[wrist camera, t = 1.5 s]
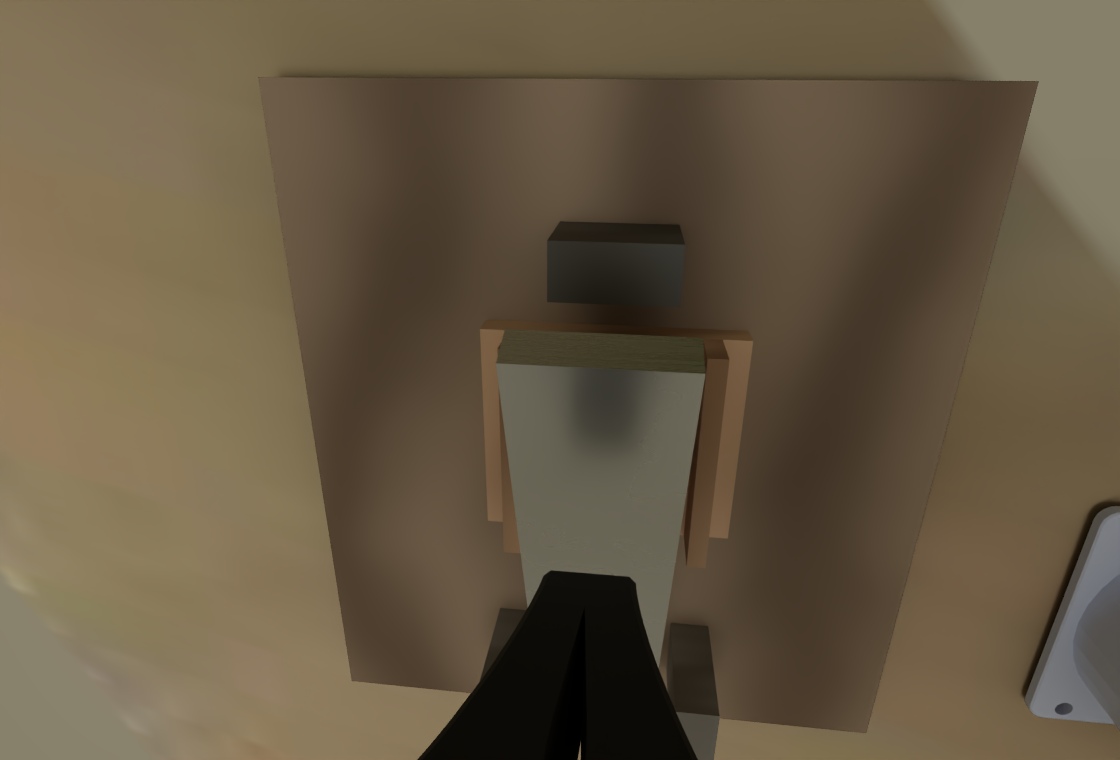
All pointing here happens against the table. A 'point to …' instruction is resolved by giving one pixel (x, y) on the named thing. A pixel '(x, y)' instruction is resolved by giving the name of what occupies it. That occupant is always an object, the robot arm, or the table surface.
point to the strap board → (642, 309)
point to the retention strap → (601, 455)
